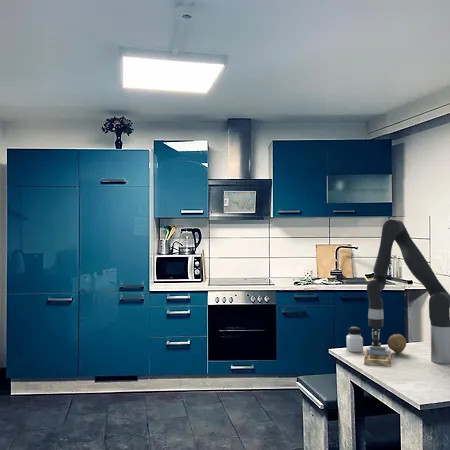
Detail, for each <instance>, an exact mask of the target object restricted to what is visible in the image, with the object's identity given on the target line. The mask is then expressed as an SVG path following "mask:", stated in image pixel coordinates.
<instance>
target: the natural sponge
mask: <svg viewBox="0 0 450 450" xmlns="http://www.w3.org/2000/svg"><path fill="white" fill-rule="evenodd" d="M406 346H407V340H406V337H404V336H403V335H402V334H400V333H395V334H392V335H390V336H389V338H388V340H387V347H388V349H389V350H390V351H391V350H392V351H393V352H394V353H395V354H397V355H398V354H402V352H403V351H404V350H405V349H406Z"/></svg>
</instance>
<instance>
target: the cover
mask: <svg viewBox="0 0 450 450" xmlns="http://www.w3.org/2000/svg"><path fill="white" fill-rule="evenodd" d="M367 348H368V354H374V355H388V350H389V347H388V346H381V347H376V346H372V345H371V346H370V345H368V347H367Z"/></svg>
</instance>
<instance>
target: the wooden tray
mask: <svg viewBox="0 0 450 450" xmlns="http://www.w3.org/2000/svg"><path fill="white" fill-rule="evenodd" d="M368 348H369V347H366V349H365V353H364V356H363V357H364V358H363V365H364V364H367V366H379V367H380V366H381V367H389V368H390V367H392V352H391V349H388V355H374V354H368Z"/></svg>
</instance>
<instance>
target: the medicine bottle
mask: <svg viewBox="0 0 450 450" xmlns="http://www.w3.org/2000/svg"><path fill="white" fill-rule="evenodd" d="M345 338H346V349H347V351H349V352H351V353H357V352H358V353H359V352H360V353H361V352H362V353H363V352H364V338H363V336H361V328H360V327H357V326H351V327H349V328H348V334H347V335H346V337H345Z"/></svg>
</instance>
